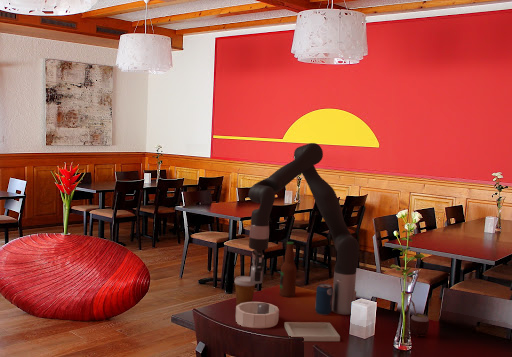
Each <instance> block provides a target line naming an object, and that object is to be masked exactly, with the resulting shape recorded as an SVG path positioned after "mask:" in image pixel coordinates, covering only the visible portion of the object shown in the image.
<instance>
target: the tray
mask: <svg viewBox="0 0 512 357" xmlns="http://www.w3.org/2000/svg"><path fill="white" fill-rule="evenodd" d="M283 324H284V329H285V331H286V333H287V335H288V337H289V336H291V337H303V338H304V341H303V342H341V336H340V334H339V333H338V332H337V330H336V329H335V327H334V326H333V325H332V324H331V322H322V321H321V322H320V321H319V322H317V321H316V322H310V321H309V322H307V321H306V322H302V321H295V322H293V321H291V322H290V321H285V322H284V323H283Z"/></svg>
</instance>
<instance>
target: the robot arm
mask: <svg viewBox="0 0 512 357" xmlns="http://www.w3.org/2000/svg"><path fill="white" fill-rule="evenodd" d="M293 156H294V159H293V160H292V161H290V162H288V163H287V164H285V165H283V166H281V167H280V168H278V169H277V170H275V172H273V173H272V174H271V175H269V177H267V178H264V179H262V180H259V181H257V182H256V183H254V184H253V185H251V187H250V188H249V191H248V198H249V200H250V202H253V203H256V204H260V205H259V208H255V209H253V210H252V211H251V215H250V216H251V217H250V218H251V219H250V228H249V237H248V238H249V239H248V240H249V242H248V248H249V249H251V250H252V253H251V254H252V258H251V259H252V261H251V264H252V265H251V266H255V281H260V278H261V271H263V272H264V260H265V258H264V257H265V255H264V253H263V251H264V250H265V251H266V250H267V249H269V242H270V241H269V240H270V238H269V236H270V217H271V216H270V215H271V212H272V209H273V206H274V203H275V201H276V200H275V199H276V193H278V192H280V191H282V190H283V189H284V188H285V187H286V186H288V185H289V184H290V183H291V182H292V181H293V180H295V179H296V178H297V177H298V176H300V175H302V176H303V178H304V179H305V182H306V184H307V186H308V188H309V190H310V192H311V194H312V197H313V199H314V202H315V204H316V207H317V209H318V210H319V213H320V215H321V216H322V219H323V221H324V222H325V224H326V225H327V227H328V229H329V232H330V235H331V237H332V242H333V244H334V248H335V250H336V262H335V264H334V269H333V270H334V271H333V273H334V274H333V285H332V286H333V287H332V289H333V296H332V311H331V312H332V313H335V314H337V315H346V316H347V315H351V314H350V312H351V302H352V301H355V300H356V301H357V291H356V279H357V269H358V267H359V266H358V265H359V257H360V256H359V255H360V245H359V244H360V243H359V241H358V240H357V239H356V238H355V237H354V236H353V235H352V233H351V232H350V229H349V228H348V226H347V224H346V222H345V220H344V215H343V210H342V206H341V203H340V200H339V198H338V196H337V194H336V192H335V189H334V188H333V187H332V186H331V185H330V184H329V183H328V182H327V180H325V179H324V178H322V177H321V175H320V174H319V173H318V171H317V169H316V166H315V165H318V164H319V163H320V162H322V159H323V157H324V150H323V149H322V147H321V146H320V144H318V143H315V142H310V143H306V144H304V145H301V146H297V147H296V148H295V150H294V152H293ZM258 266H260V268H258Z"/></svg>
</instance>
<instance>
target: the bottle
mask: <svg viewBox="0 0 512 357" xmlns="http://www.w3.org/2000/svg"><path fill="white" fill-rule="evenodd" d="M294 244H295V242H293V241H286V250H285V255H284V262H283V264H282V265H281V267H280V280H279V295H280V296H281V297H284V298H293V297H295V295H296V287H297V286H296V285H297V266H296V264H295V253H294V252H295V251H294V246H295V245H294Z"/></svg>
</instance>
